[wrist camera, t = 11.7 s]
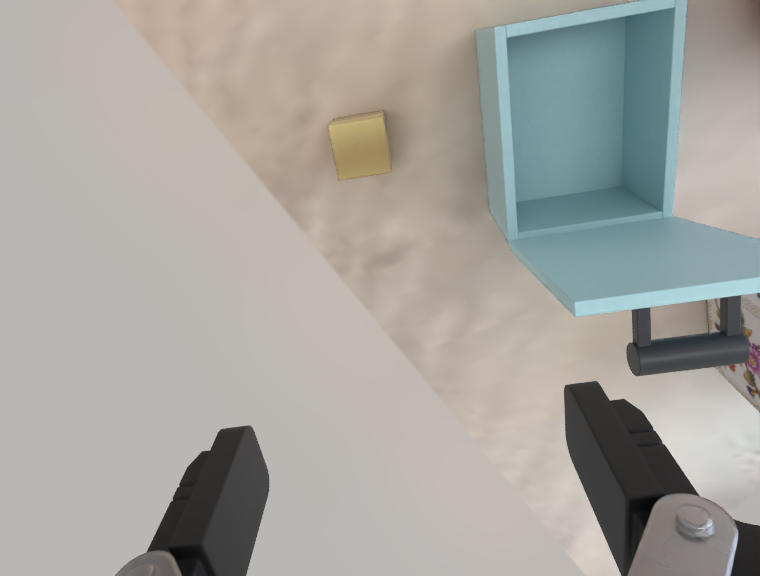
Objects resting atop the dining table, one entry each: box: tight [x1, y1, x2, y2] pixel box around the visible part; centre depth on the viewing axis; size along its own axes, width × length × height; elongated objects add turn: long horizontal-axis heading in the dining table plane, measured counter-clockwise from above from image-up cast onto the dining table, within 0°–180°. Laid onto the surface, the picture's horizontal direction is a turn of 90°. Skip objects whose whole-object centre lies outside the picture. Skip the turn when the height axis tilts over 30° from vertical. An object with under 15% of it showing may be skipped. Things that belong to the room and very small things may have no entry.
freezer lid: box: [509, 217, 760, 376], centre depth 33 cm, size 16×13×5 cm
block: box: [328, 111, 391, 180], centre depth 45 cm, size 4×4×4 cm
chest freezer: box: [475, 0, 688, 243], centre depth 42 cm, size 16×13×9 cm
